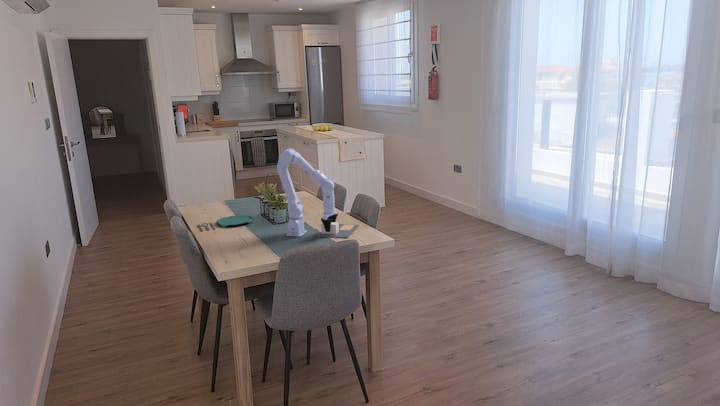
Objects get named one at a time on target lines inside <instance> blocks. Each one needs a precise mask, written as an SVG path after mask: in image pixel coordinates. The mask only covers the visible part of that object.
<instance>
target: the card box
mask: <svg viewBox="0 0 720 406" xmlns="http://www.w3.org/2000/svg"><path fill="white" fill-rule="evenodd" d="M339 224H340V223H339V222H337V221H336V222H331V227H330V232H326V231H325V228H324V225H323V223H322V222H321V224H320V232H321V233H324V234H337V233H338V232H339Z"/></svg>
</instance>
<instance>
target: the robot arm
mask: <svg viewBox="0 0 720 406" xmlns="http://www.w3.org/2000/svg"><path fill="white" fill-rule="evenodd" d="M291 164H292V165H298V166H300V167H301V168H302V169H303V170H305V172H307V173H308V174H309V176H310V179H311V180H312V181H314V183H315V184H316V185H318V186H319V187H320V188H321V191H322V203H323V215H322V217H321V218H320V221H321V224H322V223H323V225H324V228H325V231H326V232H330V227H331V222H337V219H338V216H339V213H338V211H337V209H336V205H335V202H336V201H335V190H334V189H335V182H334V181H333V180H332V179H330V178H329V177H327V176H326V175H325V174H324V172H323V171H322V170H319V169H315V168H314V167H313V166H312V165H311V164H310V163H309V162H308V161H307V160H306V159H305V158H304V157H303V156H302V155H301V154H300V153H299V152H298V151H296V150H295V149H294V148H292V147H287V149H285V150H283V151H282V152H281V153H280V154H279V156H278V161H277V165H276V170H277V173H278V176H279V179H280V182H281V185H282V187H283V191H284V194H285V197H286V199H287V209H288V210H287V212H288V213H287V214H288V217H289V220H288V222H287V224H286V225H287V233H286V237H302V236H303V235H304V234H306V233H308V230H305V219H304V218H305V217H304V214H303V212H304V210H305V209H304V205H303V203H301V201H300V198H298V196H297V193H296V190H295V186H294V183H293V181H292V178H291V175H290V172H289V169H288V168H289V166H290V165H291Z"/></svg>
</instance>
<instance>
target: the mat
mask: <svg viewBox="0 0 720 406" xmlns="http://www.w3.org/2000/svg"><path fill="white" fill-rule="evenodd" d="M359 226H360V225H359V224H354V223H352V224H351V223H339V232H338V233H337V234H324V233H321V231H320V232H319V233H317V235H316V237H320V238H335V239H348V238H350V237H351V235H352V234H353V233H354V232H355V231H356V230H357V228H358V227H359Z"/></svg>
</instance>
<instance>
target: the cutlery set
mask: <svg viewBox="0 0 720 406" xmlns="http://www.w3.org/2000/svg"><path fill="white" fill-rule="evenodd" d="M252 222H253V217H252V216H250V215H249V214H248V215H247V214H237V215H231V216H224V217H221V218H219V219H217V220H216V224H217V225H219V226H221V228H223V229H226V227H235V226H236V227H237V226H241V225H245V224H247V223H248V224H250V223H252ZM209 224H210V226H211V227H212V228H213V230H215V231H216V227H215V225H214V224H213V223H212V222H209V223H202V224H197V228H199V229H200V231H201V232H204V230H203V228H202V227H203V226H205V227H206V228H207V230H208V231H210V228H209Z"/></svg>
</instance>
